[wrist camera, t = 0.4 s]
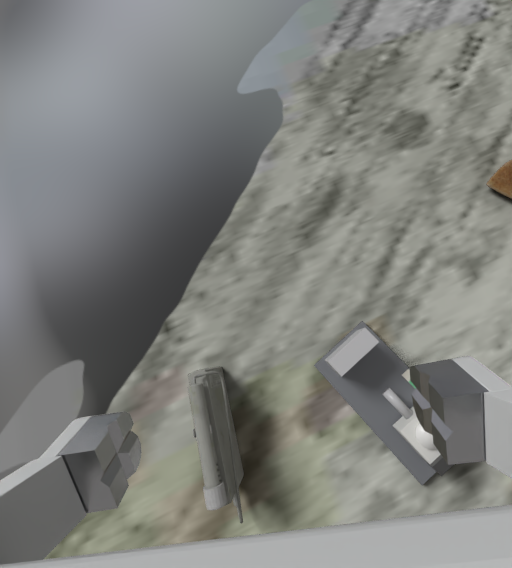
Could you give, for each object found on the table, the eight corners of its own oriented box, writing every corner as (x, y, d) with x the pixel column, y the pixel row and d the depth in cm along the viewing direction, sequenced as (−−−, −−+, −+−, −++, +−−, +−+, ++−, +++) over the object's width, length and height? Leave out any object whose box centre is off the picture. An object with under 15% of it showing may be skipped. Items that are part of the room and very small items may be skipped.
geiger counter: (173, 375, 48) (205, 563, 43) (212, 365, 48) (250, 555, 42) (201, 370, 62) (228, 512, 56) (232, 362, 61) (263, 505, 55)
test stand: (470, 432, 53) (505, 449, 44) (418, 481, 53) (443, 509, 44) (361, 321, 59) (371, 316, 50) (314, 365, 59) (316, 367, 50)
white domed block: (466, 427, 52) (484, 435, 47) (427, 464, 51) (441, 476, 46) (406, 367, 55) (417, 368, 50) (370, 401, 54) (376, 406, 49)
